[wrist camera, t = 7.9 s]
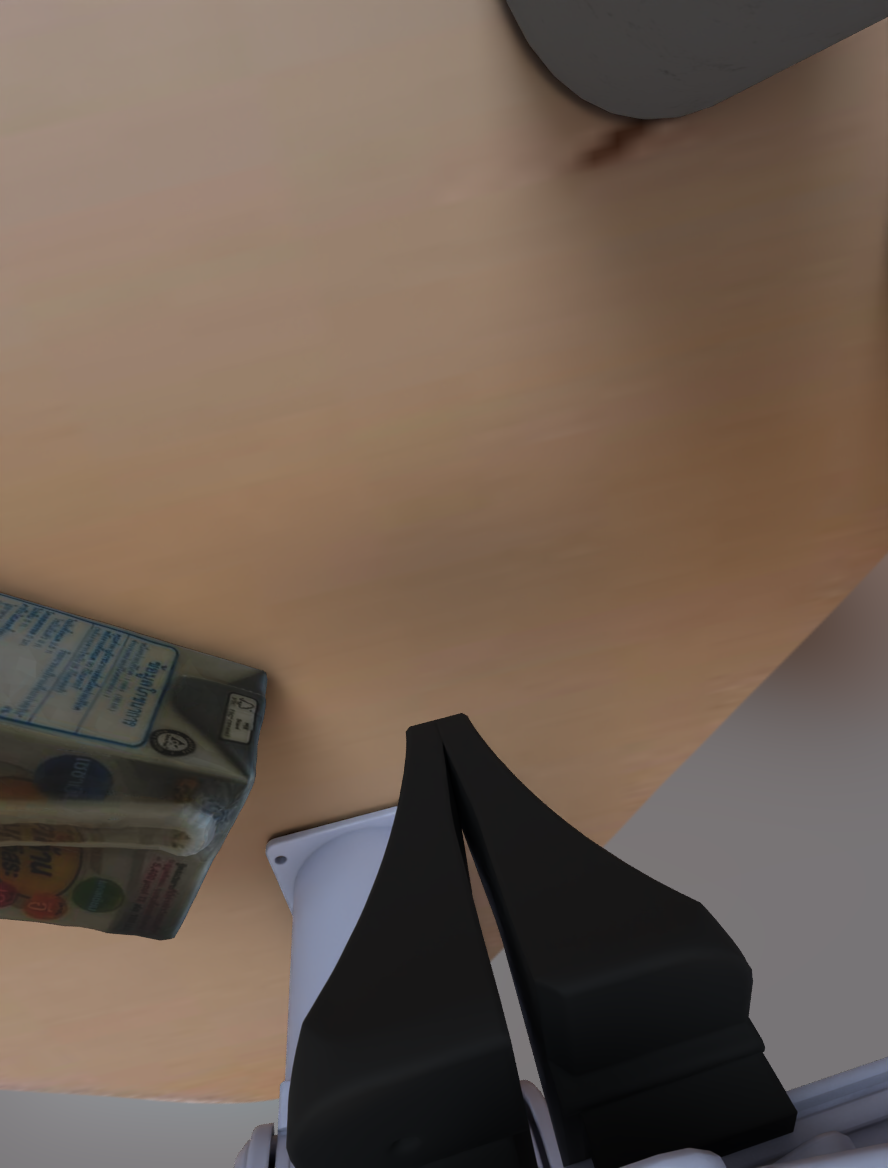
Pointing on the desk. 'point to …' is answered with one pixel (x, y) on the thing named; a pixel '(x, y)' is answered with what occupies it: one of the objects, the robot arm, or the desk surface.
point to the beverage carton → (115, 770)
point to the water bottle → (680, 46)
